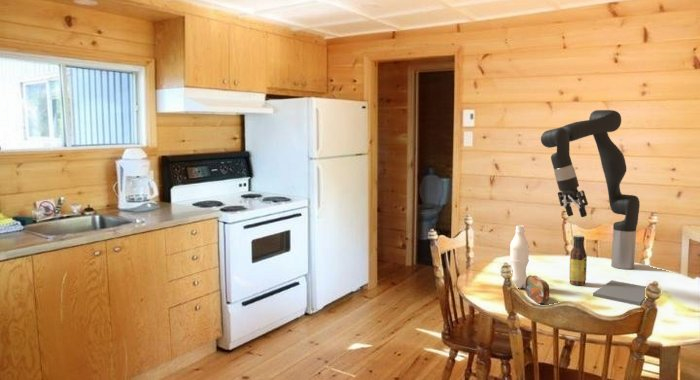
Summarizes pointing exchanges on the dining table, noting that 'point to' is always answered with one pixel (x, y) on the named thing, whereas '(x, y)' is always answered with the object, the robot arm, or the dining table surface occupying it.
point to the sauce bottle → (578, 262)
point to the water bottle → (519, 257)
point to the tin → (537, 289)
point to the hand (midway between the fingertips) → (577, 216)
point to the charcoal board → (622, 292)
